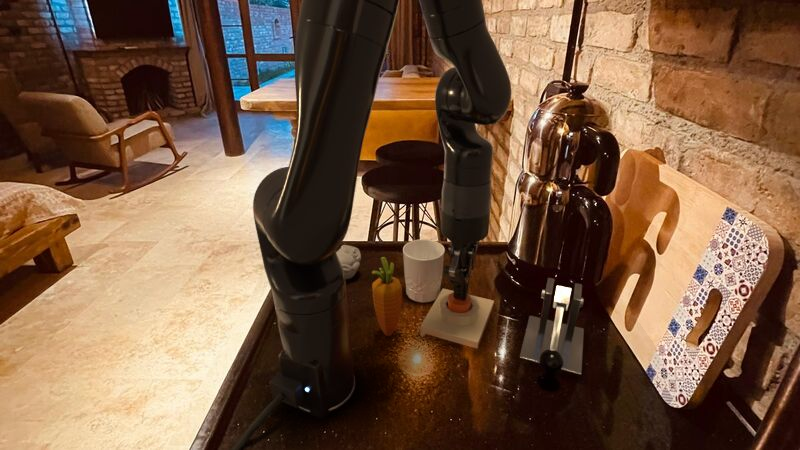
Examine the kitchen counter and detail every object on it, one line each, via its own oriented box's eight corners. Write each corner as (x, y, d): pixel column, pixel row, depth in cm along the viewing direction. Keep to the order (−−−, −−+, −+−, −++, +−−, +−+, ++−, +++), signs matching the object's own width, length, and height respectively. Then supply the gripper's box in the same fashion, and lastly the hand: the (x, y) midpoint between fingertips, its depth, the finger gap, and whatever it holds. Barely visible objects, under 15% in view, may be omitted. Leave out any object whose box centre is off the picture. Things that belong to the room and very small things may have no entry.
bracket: (580, 380, 61) (595, 317, 56) (518, 362, 64) (528, 301, 59) (582, 333, 70) (596, 276, 64) (528, 320, 73) (537, 264, 68)
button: (467, 316, 69) (467, 307, 68) (444, 310, 70) (445, 302, 70) (473, 302, 72) (473, 294, 71) (451, 297, 74) (452, 289, 73)
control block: (477, 352, 66) (479, 333, 64) (419, 336, 70) (420, 317, 68) (493, 309, 76) (495, 292, 74) (442, 297, 80) (442, 280, 78)
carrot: (399, 347, 67) (398, 271, 61) (370, 343, 68) (366, 268, 62) (405, 328, 72) (404, 254, 65) (378, 324, 73) (374, 252, 66)
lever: (560, 378, 58) (562, 372, 55) (536, 371, 59) (538, 365, 56) (573, 296, 64) (575, 287, 61) (551, 292, 65) (553, 283, 62)
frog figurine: (368, 274, 87) (366, 245, 84) (345, 289, 82) (343, 260, 79) (347, 265, 91) (345, 237, 88) (324, 279, 86) (321, 250, 83)
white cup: (431, 309, 76) (432, 264, 72) (395, 296, 80) (394, 252, 75) (449, 288, 82) (451, 245, 78) (415, 277, 86) (415, 235, 81)
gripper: (455, 188, 69) (451, 273, 77) (427, 219, 59) (426, 314, 66) (499, 194, 67) (490, 281, 74) (479, 228, 56) (471, 326, 64)
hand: (460, 297), depth 70 cm, fingers closed
